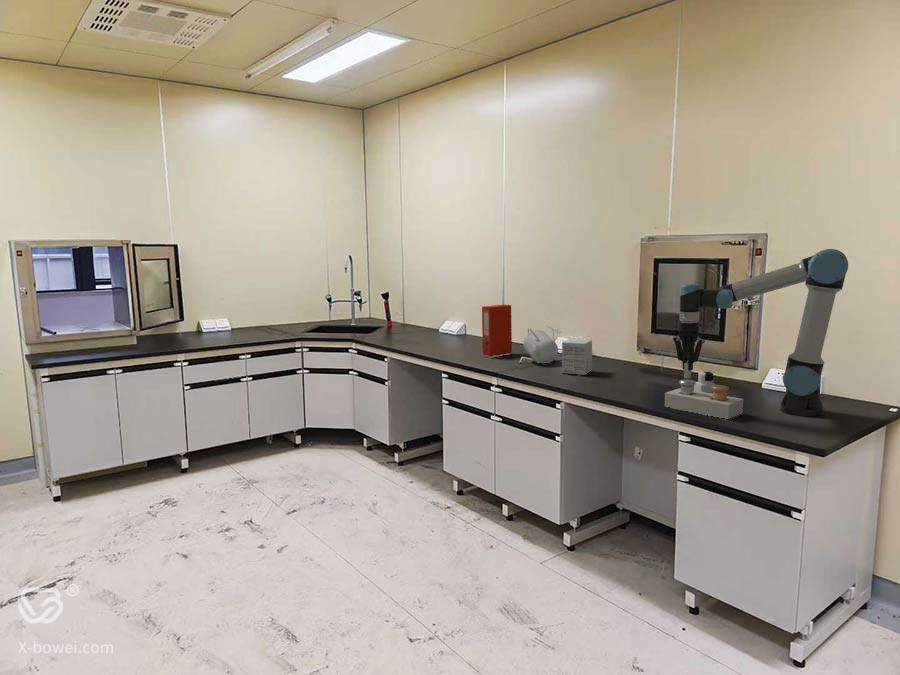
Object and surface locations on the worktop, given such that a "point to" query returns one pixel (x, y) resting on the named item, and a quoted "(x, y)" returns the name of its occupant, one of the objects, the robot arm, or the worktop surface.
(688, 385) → the metal plug
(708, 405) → the block
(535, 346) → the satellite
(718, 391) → the terracotta plug
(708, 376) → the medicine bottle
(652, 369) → the worktop surface
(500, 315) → the file binder
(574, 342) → the supplement box
